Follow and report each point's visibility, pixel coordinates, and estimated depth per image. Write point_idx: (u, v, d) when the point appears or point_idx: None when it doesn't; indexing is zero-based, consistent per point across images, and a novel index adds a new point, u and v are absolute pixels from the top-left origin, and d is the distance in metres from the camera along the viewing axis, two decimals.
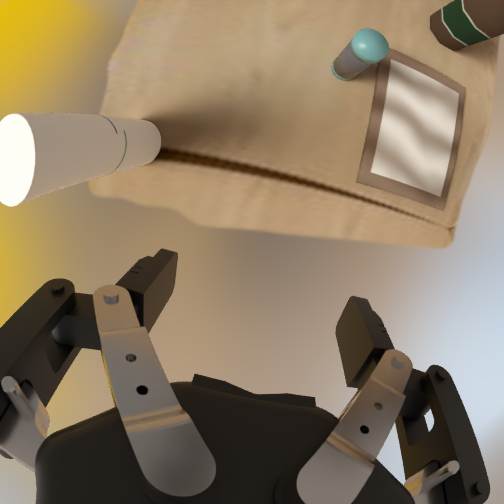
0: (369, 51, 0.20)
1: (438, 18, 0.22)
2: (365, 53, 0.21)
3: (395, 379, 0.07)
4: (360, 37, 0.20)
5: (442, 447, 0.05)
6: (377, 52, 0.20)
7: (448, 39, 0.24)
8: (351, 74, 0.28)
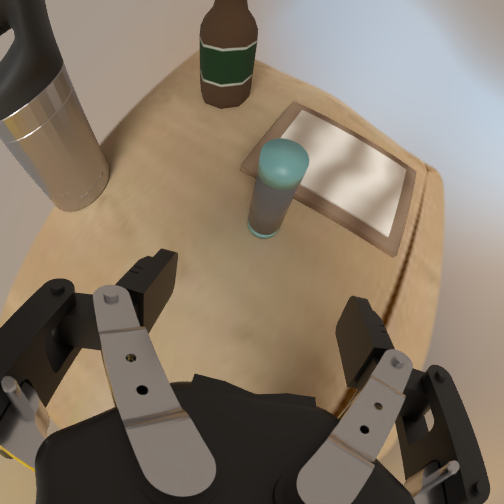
0: (297, 164, 0.20)
1: (215, 90, 0.34)
2: (300, 170, 0.20)
3: (395, 379, 0.07)
4: (274, 166, 0.20)
5: (442, 447, 0.05)
6: (299, 156, 0.20)
7: (241, 92, 0.35)
8: None
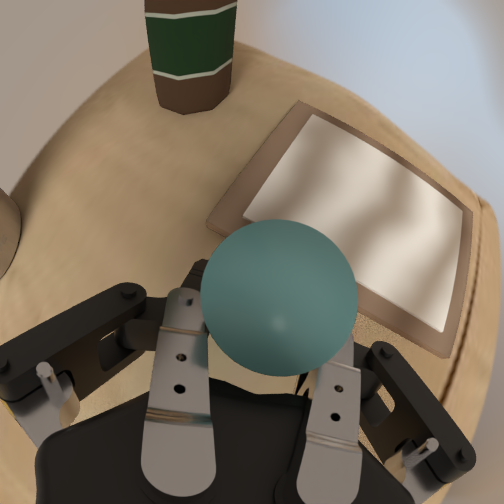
0: (322, 324, 0.06)
1: (171, 86, 0.20)
2: (330, 347, 0.06)
3: None
4: (247, 340, 0.06)
5: (412, 426, 0.06)
6: (328, 287, 0.07)
7: (213, 87, 0.21)
8: None
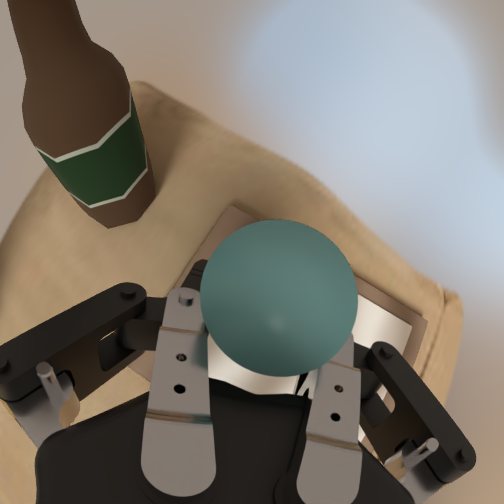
0: (322, 324, 0.06)
1: (87, 209, 0.20)
2: (330, 347, 0.06)
3: None
4: (246, 340, 0.06)
5: (412, 426, 0.06)
6: (328, 288, 0.07)
7: (129, 206, 0.21)
8: None
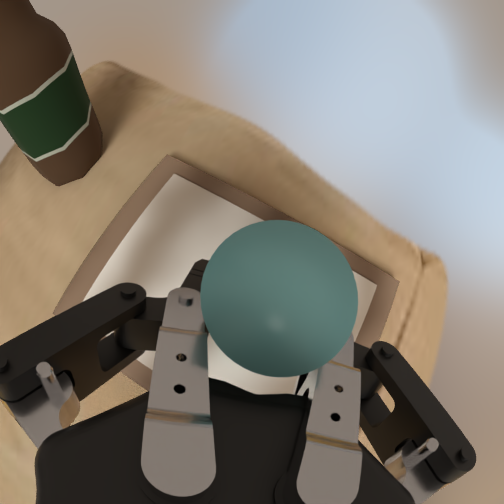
0: (322, 325, 0.06)
1: (36, 165, 0.18)
2: (330, 347, 0.06)
3: None
4: (247, 341, 0.06)
5: (412, 426, 0.06)
6: (328, 288, 0.07)
7: (71, 159, 0.19)
8: None
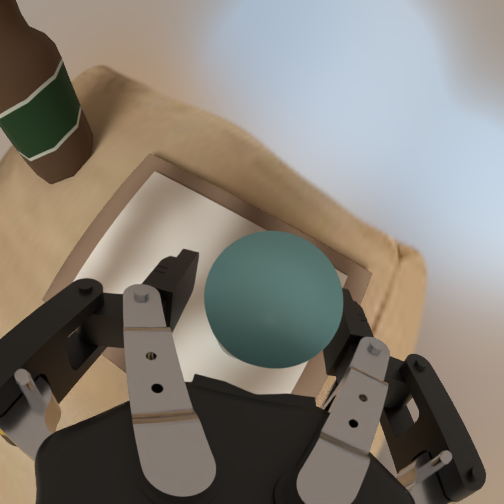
0: (311, 323, 0.07)
1: (31, 164, 0.19)
2: (318, 342, 0.07)
3: (369, 365, 0.07)
4: (245, 337, 0.07)
5: (431, 437, 0.05)
6: (316, 290, 0.07)
7: (62, 159, 0.20)
8: None
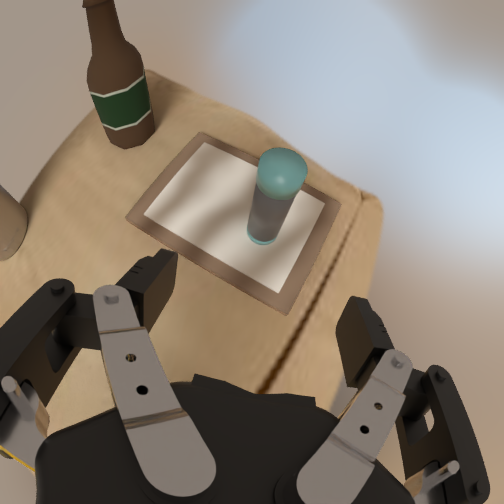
0: (295, 174, 0.20)
1: (113, 133, 0.32)
2: (298, 180, 0.20)
3: (395, 379, 0.07)
4: (273, 176, 0.20)
5: (442, 447, 0.05)
6: (297, 165, 0.21)
7: (139, 131, 0.33)
8: None
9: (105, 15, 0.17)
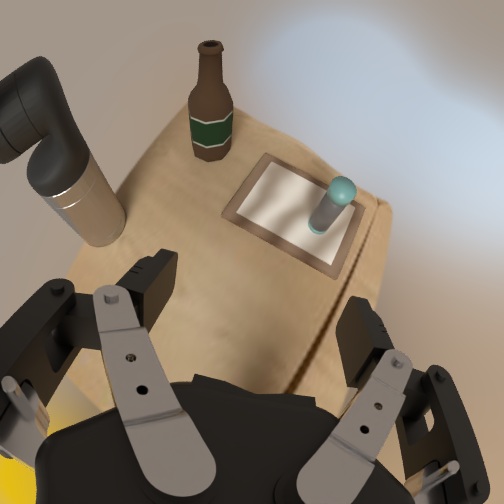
0: (351, 192, 0.36)
1: (202, 149, 0.48)
2: (352, 196, 0.36)
3: (395, 379, 0.07)
4: (340, 193, 0.36)
5: (442, 447, 0.05)
6: (351, 187, 0.36)
7: (222, 150, 0.49)
8: None
9: (216, 64, 0.32)
